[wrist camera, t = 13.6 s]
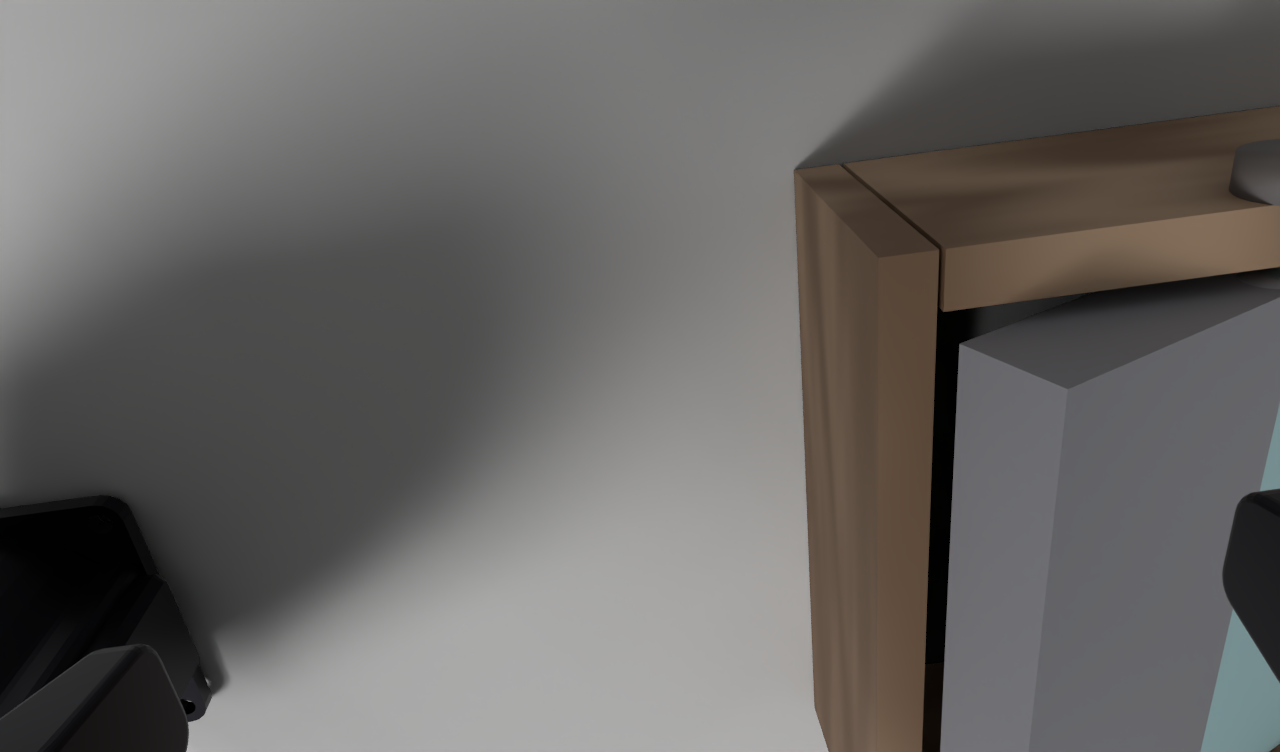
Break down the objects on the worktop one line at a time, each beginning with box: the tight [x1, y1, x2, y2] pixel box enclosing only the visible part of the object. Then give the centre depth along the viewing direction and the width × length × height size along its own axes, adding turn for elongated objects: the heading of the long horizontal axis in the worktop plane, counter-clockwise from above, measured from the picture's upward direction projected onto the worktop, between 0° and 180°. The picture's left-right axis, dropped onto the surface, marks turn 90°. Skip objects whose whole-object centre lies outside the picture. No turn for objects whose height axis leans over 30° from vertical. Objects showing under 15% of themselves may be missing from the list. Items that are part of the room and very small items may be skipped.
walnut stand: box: [794, 106, 1280, 752], centre depth 19 cm, size 14×16×6 cm
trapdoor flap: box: [940, 267, 1280, 752], centre depth 18 cm, size 12×12×2 cm
